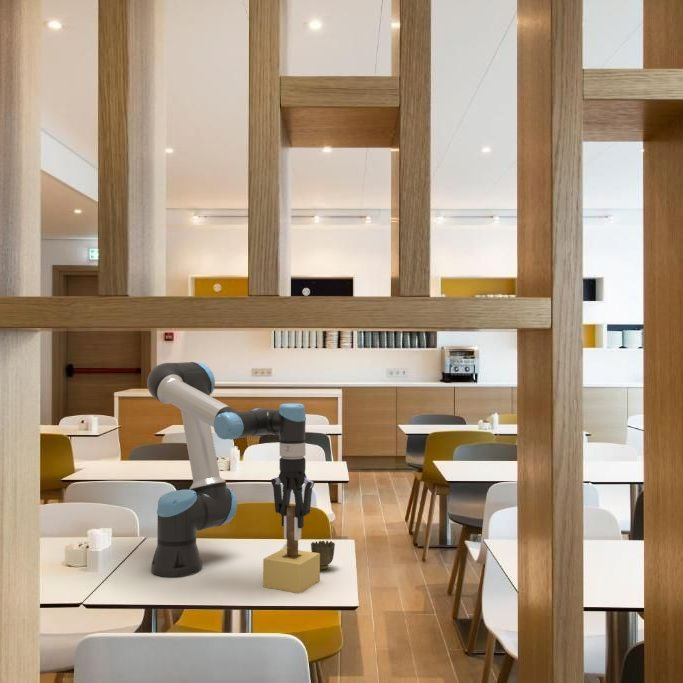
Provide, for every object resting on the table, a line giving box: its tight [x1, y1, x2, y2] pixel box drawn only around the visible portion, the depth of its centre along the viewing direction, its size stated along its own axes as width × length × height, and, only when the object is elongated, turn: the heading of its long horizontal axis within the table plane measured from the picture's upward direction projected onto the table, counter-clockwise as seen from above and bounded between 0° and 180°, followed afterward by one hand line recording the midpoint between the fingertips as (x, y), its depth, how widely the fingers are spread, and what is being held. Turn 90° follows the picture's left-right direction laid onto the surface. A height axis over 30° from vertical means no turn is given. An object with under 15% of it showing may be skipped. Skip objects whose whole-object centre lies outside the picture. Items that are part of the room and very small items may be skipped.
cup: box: [310, 540, 336, 571], centre depth 223 cm, size 8×7×8 cm
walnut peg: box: [286, 505, 299, 557], centre depth 209 cm, size 3×3×14 cm
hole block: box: [262, 548, 321, 594], centre depth 210 cm, size 12×12×8 cm
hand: (292, 538), depth 209 cm, fingers closed on walnut peg, 3 cm apart
